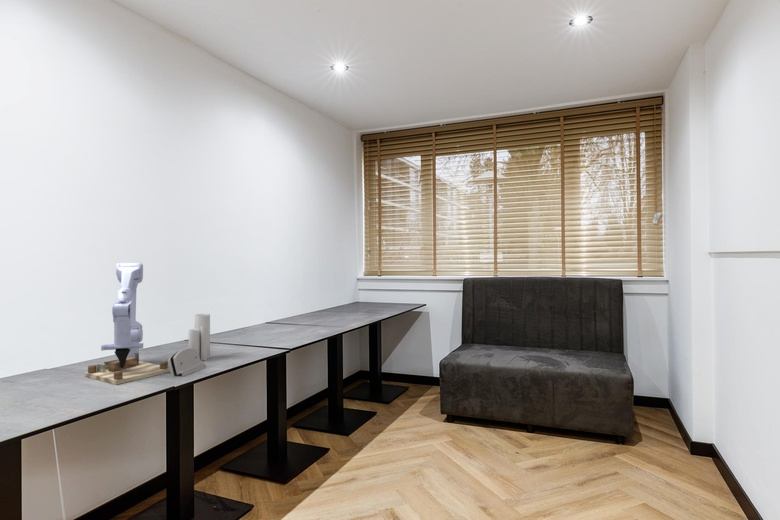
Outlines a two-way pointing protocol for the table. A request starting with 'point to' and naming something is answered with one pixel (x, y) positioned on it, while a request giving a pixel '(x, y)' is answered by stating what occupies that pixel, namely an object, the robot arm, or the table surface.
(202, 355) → the vase
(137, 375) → the board
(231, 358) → the table surface
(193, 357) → the grey rounded block
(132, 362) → the folding leg
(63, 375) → the table surface
